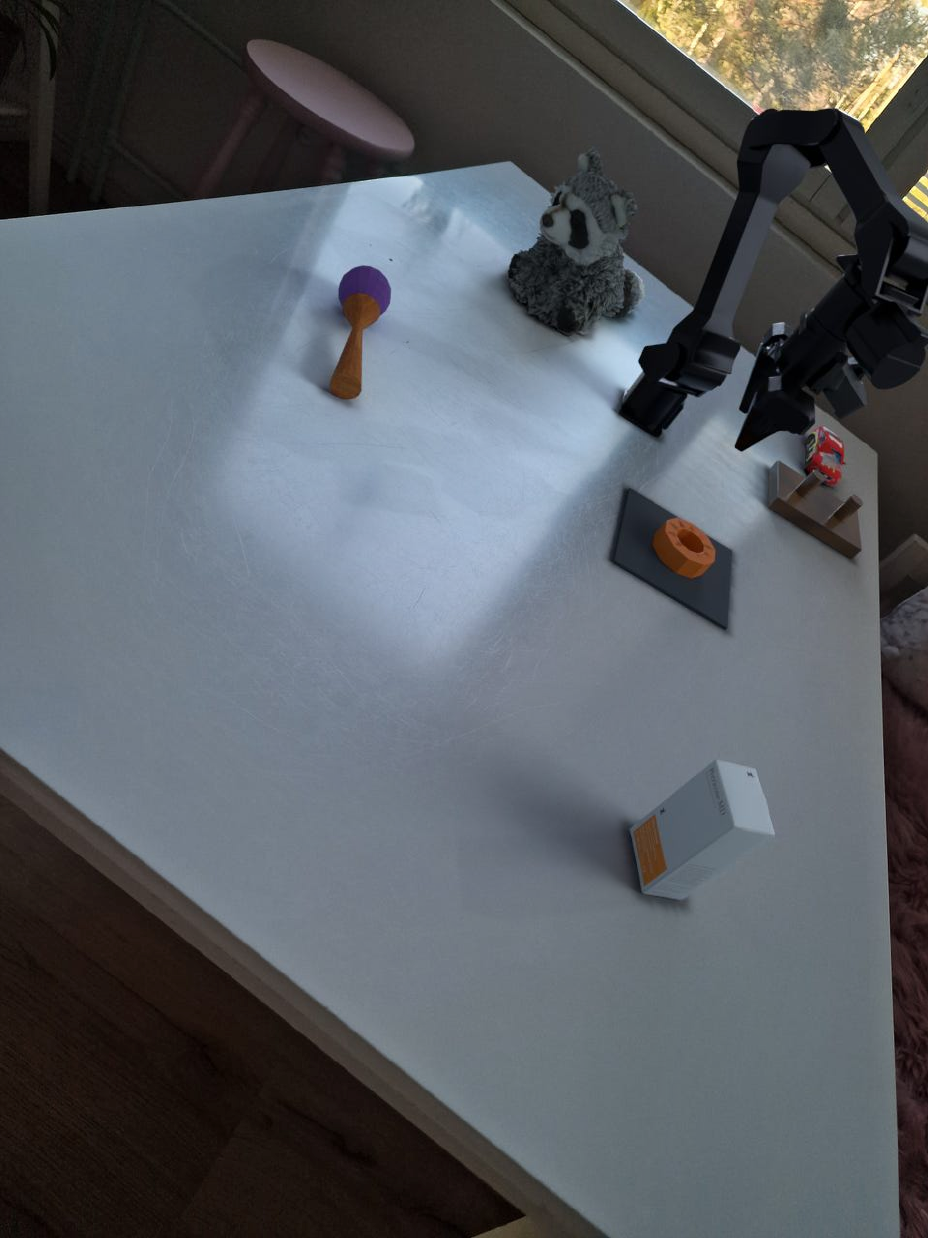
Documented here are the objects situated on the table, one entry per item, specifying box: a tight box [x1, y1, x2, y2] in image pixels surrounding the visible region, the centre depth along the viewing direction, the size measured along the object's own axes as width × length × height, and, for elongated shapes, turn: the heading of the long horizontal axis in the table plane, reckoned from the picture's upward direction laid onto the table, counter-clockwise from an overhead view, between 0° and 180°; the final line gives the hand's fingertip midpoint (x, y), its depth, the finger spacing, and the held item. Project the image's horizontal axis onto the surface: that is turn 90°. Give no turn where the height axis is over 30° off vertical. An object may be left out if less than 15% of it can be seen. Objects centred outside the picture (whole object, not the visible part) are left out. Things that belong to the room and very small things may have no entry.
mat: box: [612, 487, 733, 630], centre depth 115 cm, size 15×15×1 cm
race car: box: [803, 425, 847, 487], centre depth 149 cm, size 13×5×4 cm, turn 161°
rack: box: [767, 459, 864, 560], centre depth 137 cm, size 14×10×6 cm
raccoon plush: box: [507, 146, 646, 337], centre depth 138 cm, size 15×32×21 cm, turn 145°
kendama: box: [329, 264, 392, 401], centre depth 108 cm, size 6×6×20 cm
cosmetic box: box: [629, 759, 776, 901], centre depth 79 cm, size 6×4×12 cm
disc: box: [653, 517, 715, 579], centre depth 114 cm, size 7×7×2 cm
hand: (739, 429), depth 117 cm, fingers open, 9 cm apart
